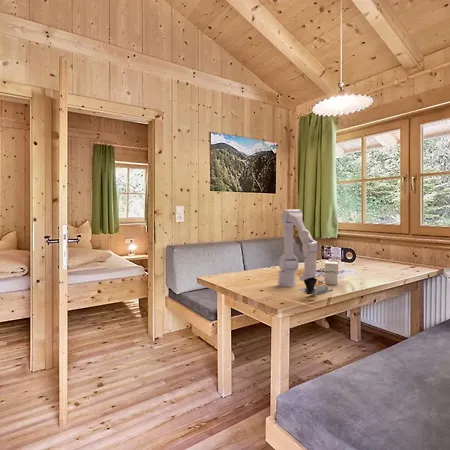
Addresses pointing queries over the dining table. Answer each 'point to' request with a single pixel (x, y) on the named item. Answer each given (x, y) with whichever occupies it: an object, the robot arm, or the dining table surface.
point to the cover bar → (319, 289)
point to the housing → (317, 293)
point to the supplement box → (331, 272)
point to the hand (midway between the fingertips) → (309, 292)
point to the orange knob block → (320, 282)
